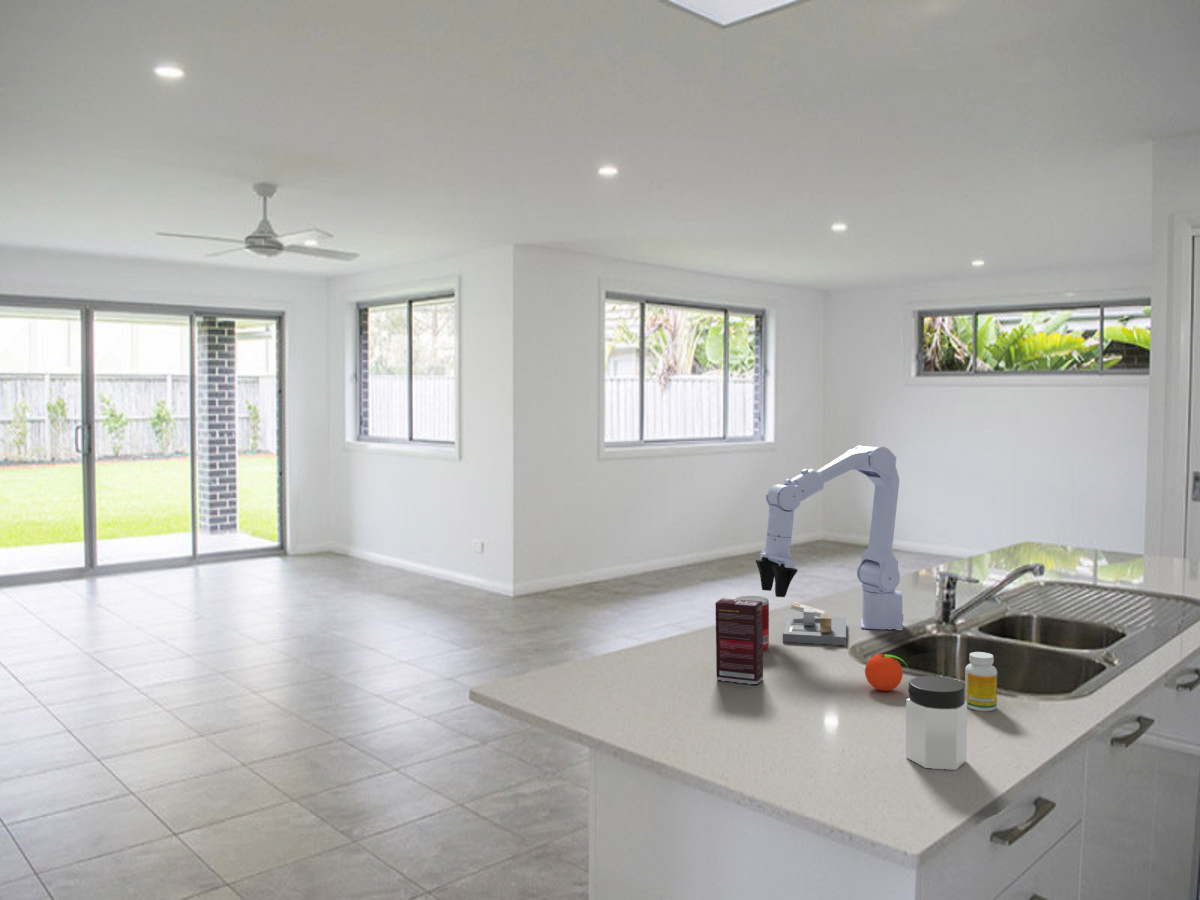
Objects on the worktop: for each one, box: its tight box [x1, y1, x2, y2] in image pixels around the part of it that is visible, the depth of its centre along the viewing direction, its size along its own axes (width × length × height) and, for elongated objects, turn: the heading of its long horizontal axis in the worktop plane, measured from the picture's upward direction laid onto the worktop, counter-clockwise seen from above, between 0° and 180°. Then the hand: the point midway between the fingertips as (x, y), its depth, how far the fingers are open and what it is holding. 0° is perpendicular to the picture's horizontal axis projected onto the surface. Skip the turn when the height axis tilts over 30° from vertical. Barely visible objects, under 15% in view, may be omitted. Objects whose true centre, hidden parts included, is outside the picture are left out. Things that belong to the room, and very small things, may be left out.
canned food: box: [734, 595, 770, 652], centre depth 205 cm, size 8×8×11 cm
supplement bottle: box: [964, 651, 998, 712], centre depth 165 cm, size 5×5×10 cm
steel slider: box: [802, 607, 816, 626], centre depth 217 cm, size 2×4×3 cm, turn 165°
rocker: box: [790, 601, 826, 617], centre depth 223 cm, size 8×4×1 cm, turn 75°
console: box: [782, 614, 847, 646], centre depth 217 cm, size 14×19×3 cm
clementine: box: [864, 653, 909, 692], centre depth 175 cm, size 8×7×7 cm
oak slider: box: [820, 613, 832, 633], centre depth 211 cm, size 2×4×3 cm, turn 165°
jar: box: [905, 675, 968, 771], centre depth 141 cm, size 9×8×12 cm
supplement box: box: [714, 597, 764, 685], centre depth 182 cm, size 9×5×16 cm, turn 65°
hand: (773, 593), depth 214 cm, fingers open, 7 cm apart
